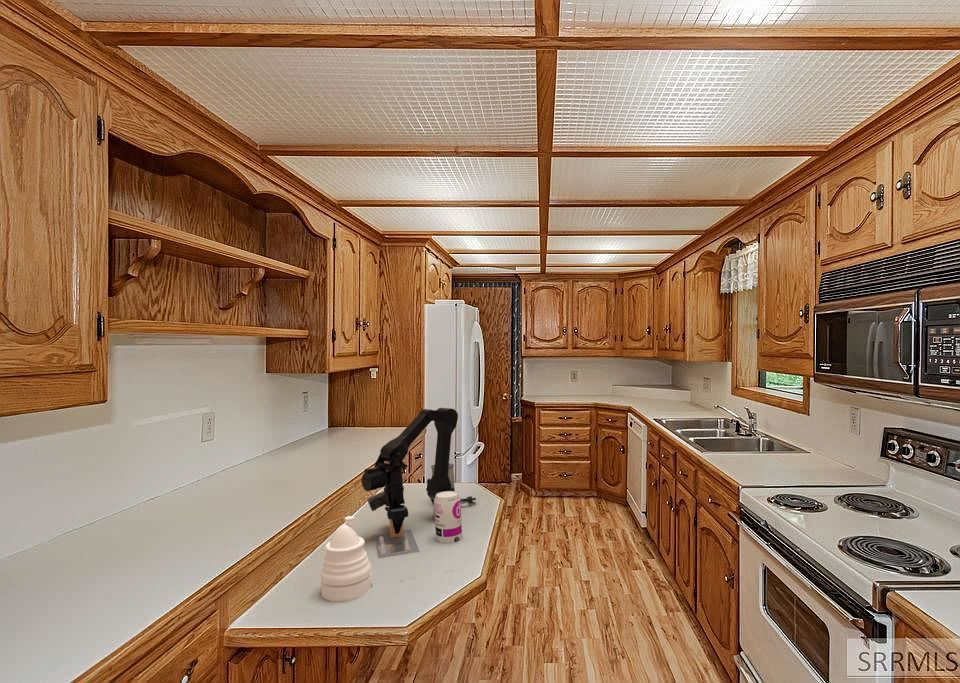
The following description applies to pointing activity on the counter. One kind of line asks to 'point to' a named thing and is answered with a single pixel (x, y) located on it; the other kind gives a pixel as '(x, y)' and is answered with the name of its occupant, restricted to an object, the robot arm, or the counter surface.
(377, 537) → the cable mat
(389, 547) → the end holder
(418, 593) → the counter surface
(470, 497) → the milk frother
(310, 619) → the counter surface
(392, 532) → the orange rectangular block
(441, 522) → the supplement can
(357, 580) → the honey pot
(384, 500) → the robot arm
